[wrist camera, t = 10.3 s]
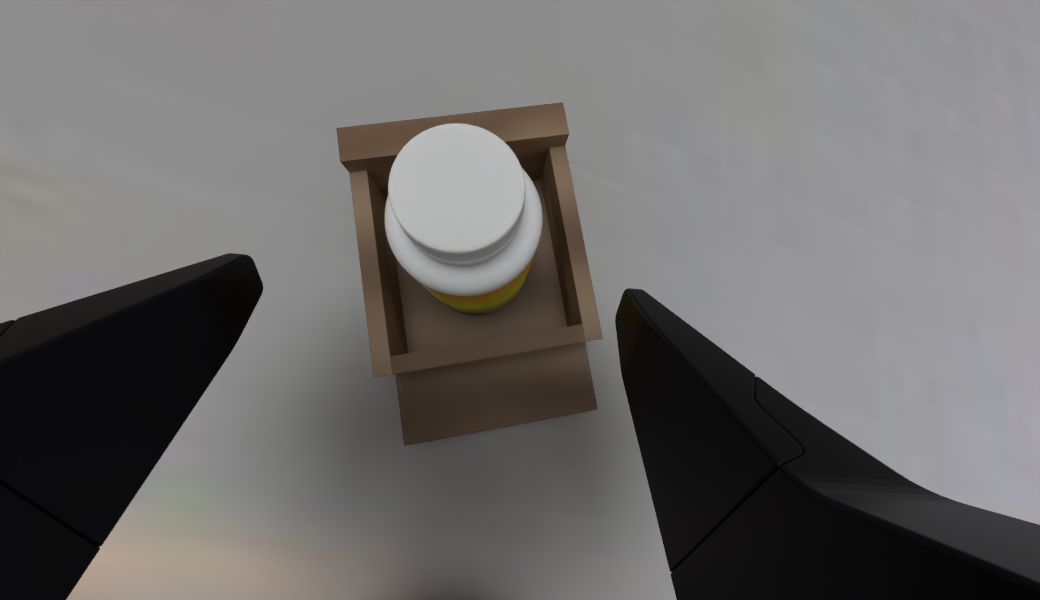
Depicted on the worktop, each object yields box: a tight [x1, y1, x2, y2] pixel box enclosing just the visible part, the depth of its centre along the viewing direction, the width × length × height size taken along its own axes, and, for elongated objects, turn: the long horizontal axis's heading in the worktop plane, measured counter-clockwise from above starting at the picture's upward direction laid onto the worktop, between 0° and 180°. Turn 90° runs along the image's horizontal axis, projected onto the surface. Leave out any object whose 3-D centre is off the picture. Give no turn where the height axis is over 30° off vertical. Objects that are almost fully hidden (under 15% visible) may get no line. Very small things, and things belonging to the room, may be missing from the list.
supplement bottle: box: [385, 123, 543, 315], centre depth 15 cm, size 6×6×10 cm
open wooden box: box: [337, 103, 602, 445], centre depth 19 cm, size 15×10×6 cm
